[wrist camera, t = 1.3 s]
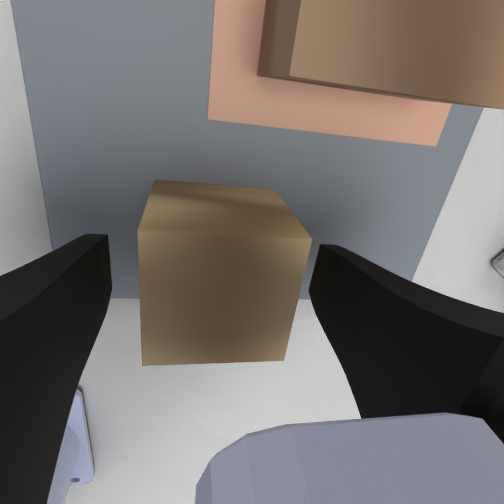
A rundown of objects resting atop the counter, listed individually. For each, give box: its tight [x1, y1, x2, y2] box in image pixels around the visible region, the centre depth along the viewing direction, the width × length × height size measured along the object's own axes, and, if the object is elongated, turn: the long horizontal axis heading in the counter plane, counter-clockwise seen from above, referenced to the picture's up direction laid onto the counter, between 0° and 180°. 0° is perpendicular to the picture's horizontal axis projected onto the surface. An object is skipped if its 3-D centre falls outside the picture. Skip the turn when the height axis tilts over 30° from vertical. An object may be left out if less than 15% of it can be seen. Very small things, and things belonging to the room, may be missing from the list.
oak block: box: [137, 180, 312, 366], centre depth 11 cm, size 4×4×4 cm
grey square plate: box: [11, 0, 484, 299], centre depth 12 cm, size 16×16×1 cm
